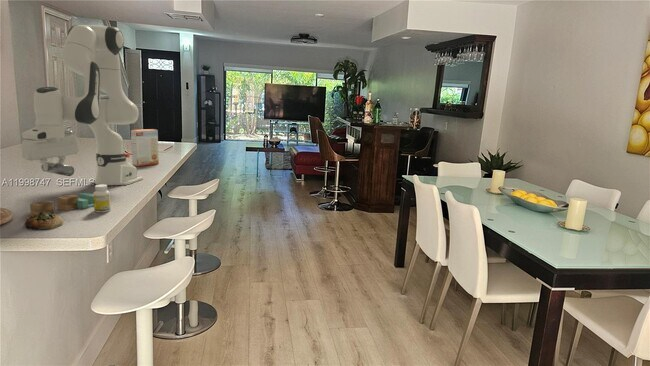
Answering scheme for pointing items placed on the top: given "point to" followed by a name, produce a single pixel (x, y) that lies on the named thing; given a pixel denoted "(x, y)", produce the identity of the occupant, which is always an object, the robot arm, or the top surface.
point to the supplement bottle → (101, 198)
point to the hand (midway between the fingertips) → (53, 168)
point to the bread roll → (43, 221)
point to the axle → (59, 169)
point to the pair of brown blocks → (47, 206)
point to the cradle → (85, 200)
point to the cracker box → (144, 147)
